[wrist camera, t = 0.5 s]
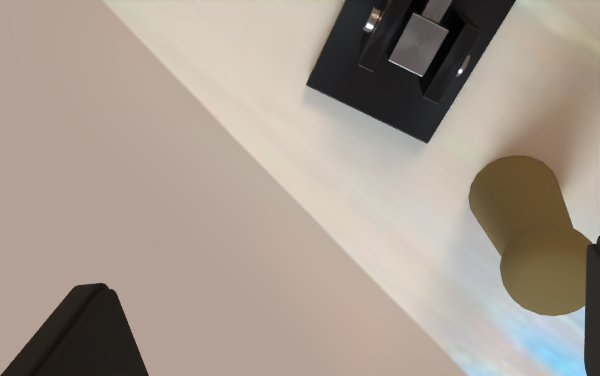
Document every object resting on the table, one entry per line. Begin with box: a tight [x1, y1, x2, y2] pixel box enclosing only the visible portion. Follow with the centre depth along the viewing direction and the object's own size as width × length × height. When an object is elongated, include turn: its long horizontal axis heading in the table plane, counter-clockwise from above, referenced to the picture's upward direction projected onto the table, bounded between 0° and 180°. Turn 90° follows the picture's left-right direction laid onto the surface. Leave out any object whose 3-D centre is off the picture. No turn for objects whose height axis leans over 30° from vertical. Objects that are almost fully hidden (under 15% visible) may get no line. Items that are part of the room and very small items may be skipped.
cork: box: [469, 156, 592, 316], centre depth 34 cm, size 6×6×11 cm
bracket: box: [306, 0, 516, 143], centre depth 32 cm, size 12×9×6 cm
